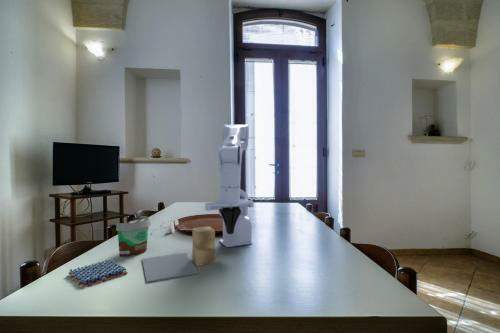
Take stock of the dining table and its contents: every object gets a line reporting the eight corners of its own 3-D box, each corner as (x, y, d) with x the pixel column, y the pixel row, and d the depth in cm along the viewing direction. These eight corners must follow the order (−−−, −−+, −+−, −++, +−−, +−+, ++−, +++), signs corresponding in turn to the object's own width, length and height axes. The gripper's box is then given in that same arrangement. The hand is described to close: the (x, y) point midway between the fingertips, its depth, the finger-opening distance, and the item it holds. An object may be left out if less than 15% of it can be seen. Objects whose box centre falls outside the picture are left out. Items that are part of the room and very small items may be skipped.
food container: (134, 259, 75) (134, 224, 75) (115, 258, 76) (115, 223, 76) (158, 246, 87) (158, 216, 87) (141, 245, 88) (141, 215, 88)
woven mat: (110, 265, 72) (110, 257, 72) (129, 276, 65) (129, 267, 65) (65, 277, 64) (65, 269, 64) (81, 291, 57) (81, 282, 57)
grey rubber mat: (184, 254, 80) (184, 252, 80) (198, 273, 65) (198, 272, 65) (142, 260, 75) (142, 258, 75) (146, 283, 60) (146, 281, 60)
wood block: (209, 256, 77) (209, 226, 77) (214, 262, 73) (214, 230, 73) (192, 259, 75) (192, 228, 75) (196, 265, 71) (196, 232, 71)
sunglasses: (172, 235, 102) (170, 222, 102) (150, 239, 102) (148, 226, 102) (179, 227, 116) (178, 215, 116) (160, 230, 116) (158, 219, 115)
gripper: (210, 189, 71) (210, 239, 71) (258, 187, 77) (258, 233, 77) (203, 187, 77) (203, 233, 77) (248, 185, 83) (247, 228, 83)
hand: (229, 233), depth 78 cm, fingers closed
